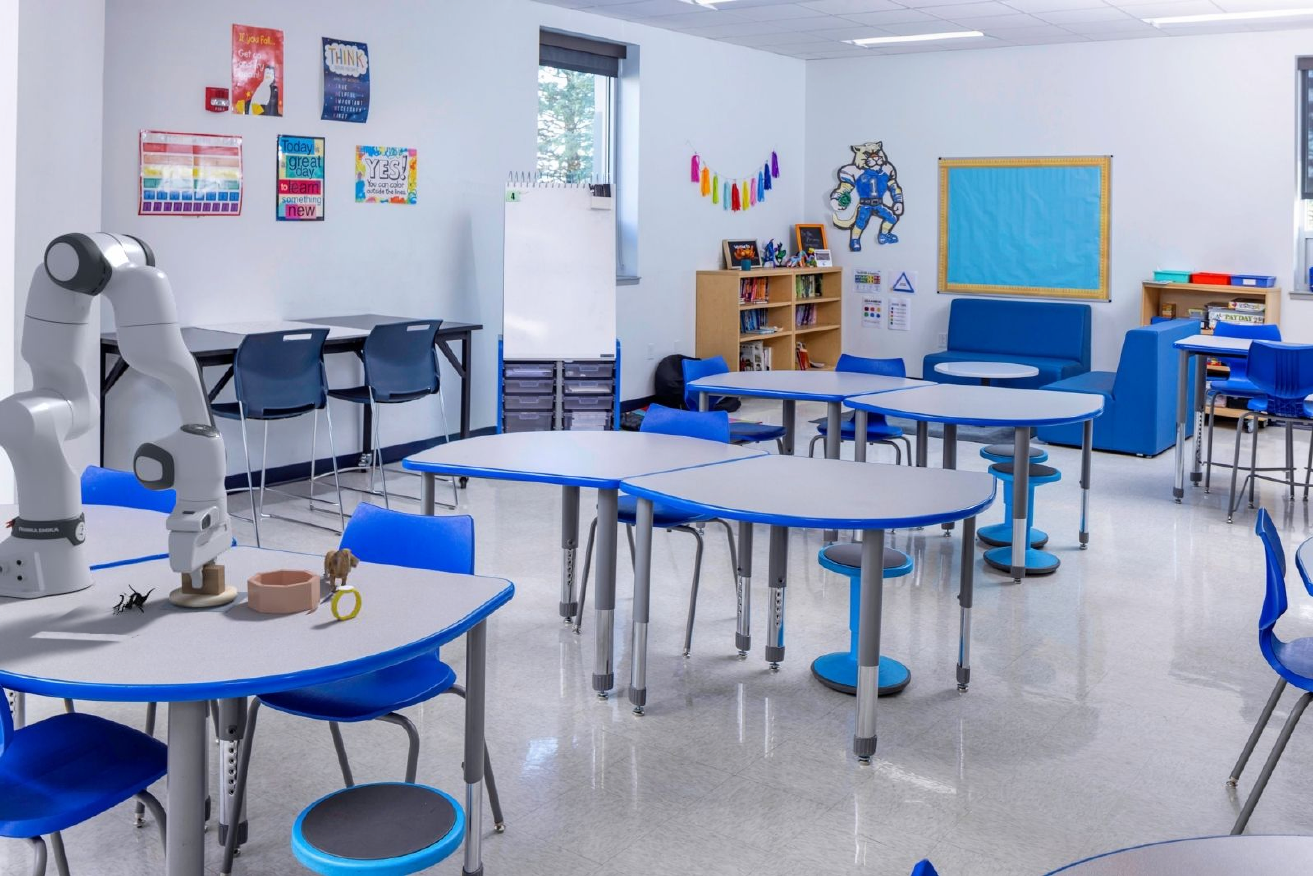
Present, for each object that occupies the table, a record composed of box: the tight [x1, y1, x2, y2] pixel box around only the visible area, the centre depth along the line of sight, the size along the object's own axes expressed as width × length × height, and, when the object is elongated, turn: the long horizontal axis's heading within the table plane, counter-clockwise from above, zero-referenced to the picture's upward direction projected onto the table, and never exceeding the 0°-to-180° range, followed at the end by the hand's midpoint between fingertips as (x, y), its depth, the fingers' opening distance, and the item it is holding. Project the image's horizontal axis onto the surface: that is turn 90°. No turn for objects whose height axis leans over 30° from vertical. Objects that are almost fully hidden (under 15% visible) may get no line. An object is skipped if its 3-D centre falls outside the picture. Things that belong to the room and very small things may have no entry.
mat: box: [156, 591, 248, 613], centre depth 233 cm, size 13×13×1 cm
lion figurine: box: [323, 548, 361, 593], centre depth 248 cm, size 15×5×9 cm, turn 35°
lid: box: [168, 564, 238, 607], centre depth 233 cm, size 12×12×6 cm
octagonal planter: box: [246, 568, 321, 616], centre depth 232 cm, size 12×12×6 cm
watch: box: [330, 585, 363, 621], centre depth 228 cm, size 6×3×6 cm, turn 142°
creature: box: [112, 584, 156, 616], centre depth 226 cm, size 8×5×8 cm
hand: (203, 584), depth 233 cm, fingers closed on lid, 3 cm apart
